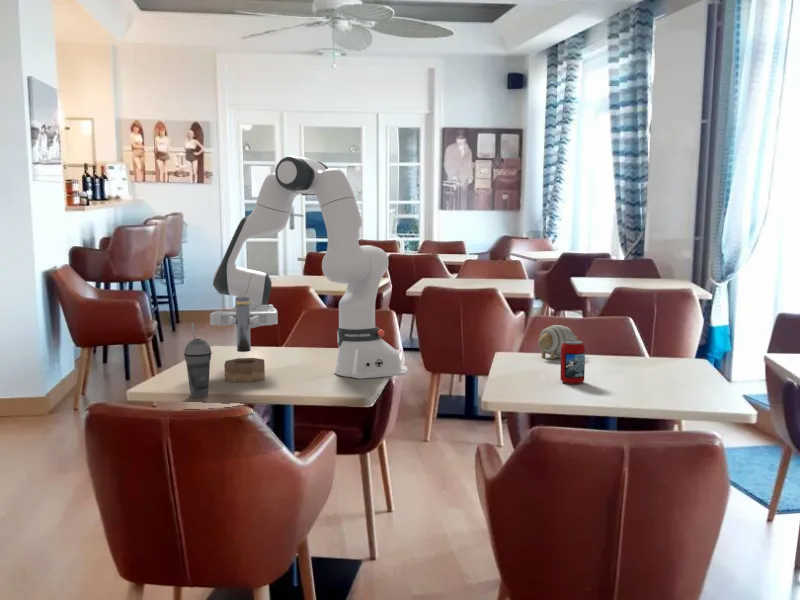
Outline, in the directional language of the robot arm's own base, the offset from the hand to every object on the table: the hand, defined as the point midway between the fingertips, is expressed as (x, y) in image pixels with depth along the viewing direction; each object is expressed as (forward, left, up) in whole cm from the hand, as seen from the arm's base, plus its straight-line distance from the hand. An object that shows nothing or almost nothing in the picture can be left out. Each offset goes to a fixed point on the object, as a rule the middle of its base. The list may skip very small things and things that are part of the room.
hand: (242, 321), depth 225 cm
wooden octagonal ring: (0, -1, -17) cm, 17 cm away
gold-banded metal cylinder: (0, -1, -9) cm, 9 cm away
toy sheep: (-103, -16, -18) cm, 106 cm away
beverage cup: (+11, +19, -17) cm, 28 cm away
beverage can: (-94, +21, -18) cm, 98 cm away
